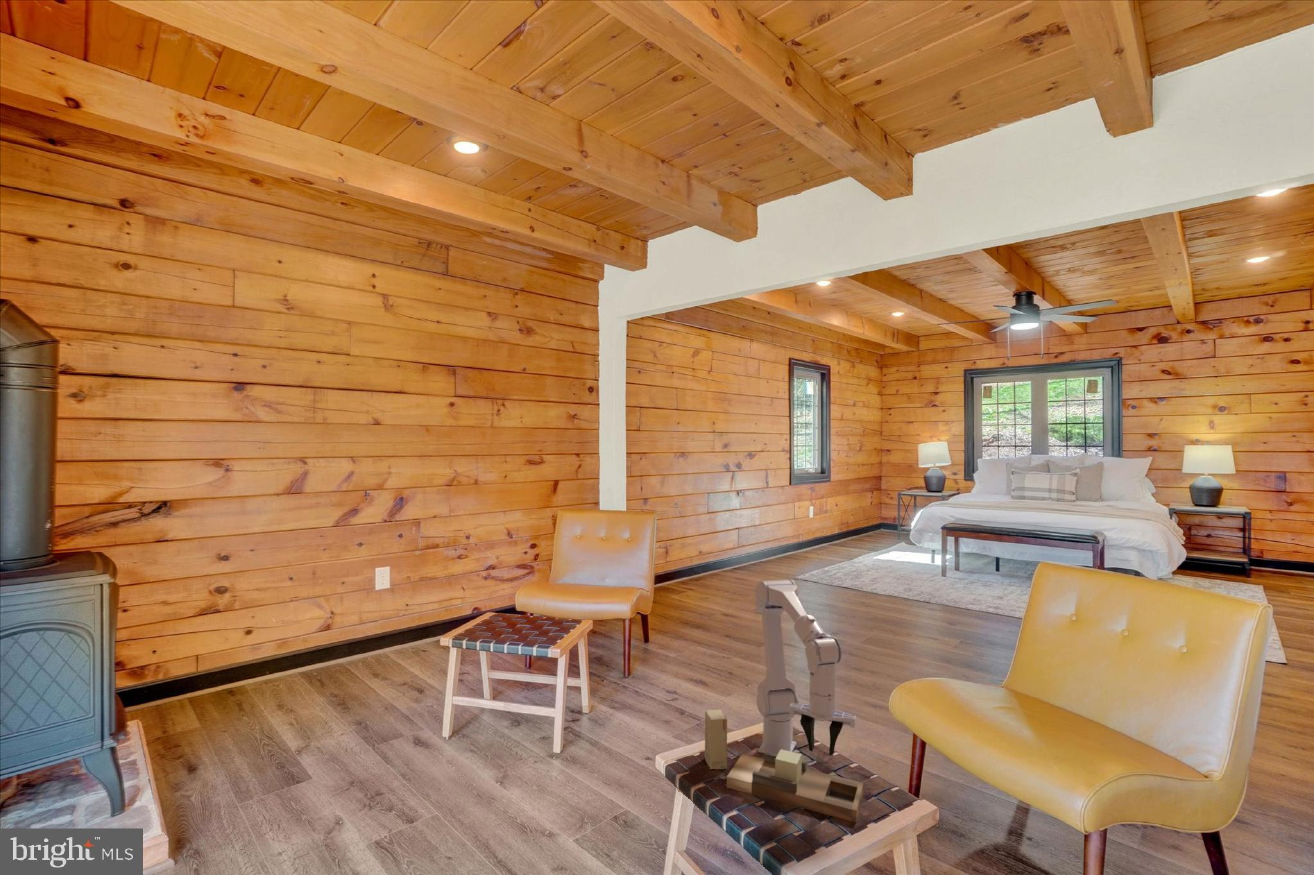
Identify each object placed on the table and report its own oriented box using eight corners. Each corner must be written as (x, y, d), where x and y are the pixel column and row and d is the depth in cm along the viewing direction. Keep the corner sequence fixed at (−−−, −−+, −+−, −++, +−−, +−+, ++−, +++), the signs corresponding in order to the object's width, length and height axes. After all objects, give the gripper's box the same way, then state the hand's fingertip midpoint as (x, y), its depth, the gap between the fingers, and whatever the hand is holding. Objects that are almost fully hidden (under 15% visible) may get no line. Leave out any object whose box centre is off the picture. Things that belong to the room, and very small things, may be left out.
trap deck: (742, 763, 153) (742, 745, 153) (863, 793, 140) (863, 774, 141) (726, 787, 142) (726, 767, 142) (856, 822, 130) (856, 801, 130)
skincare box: (727, 769, 150) (728, 719, 150) (710, 770, 149) (711, 720, 149) (720, 756, 156) (721, 708, 156) (704, 757, 156) (704, 709, 156)
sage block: (780, 770, 145) (780, 749, 145) (801, 775, 143) (801, 754, 143) (774, 780, 141) (775, 758, 141) (796, 786, 139) (797, 764, 139)
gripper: (786, 691, 139) (785, 751, 138) (853, 704, 132) (852, 767, 132) (793, 681, 145) (792, 738, 145) (857, 692, 139) (856, 752, 138)
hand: (821, 751), depth 139 cm, fingers open, 4 cm apart
